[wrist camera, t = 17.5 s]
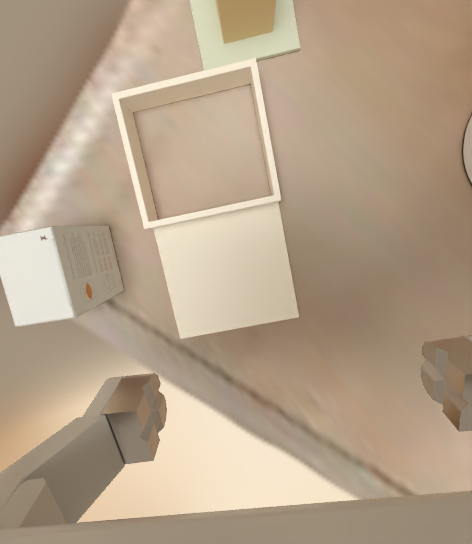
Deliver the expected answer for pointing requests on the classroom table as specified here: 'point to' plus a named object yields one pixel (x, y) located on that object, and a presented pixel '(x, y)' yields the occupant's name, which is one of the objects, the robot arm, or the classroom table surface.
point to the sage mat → (254, 47)
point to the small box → (58, 272)
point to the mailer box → (215, 223)
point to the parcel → (245, 18)
